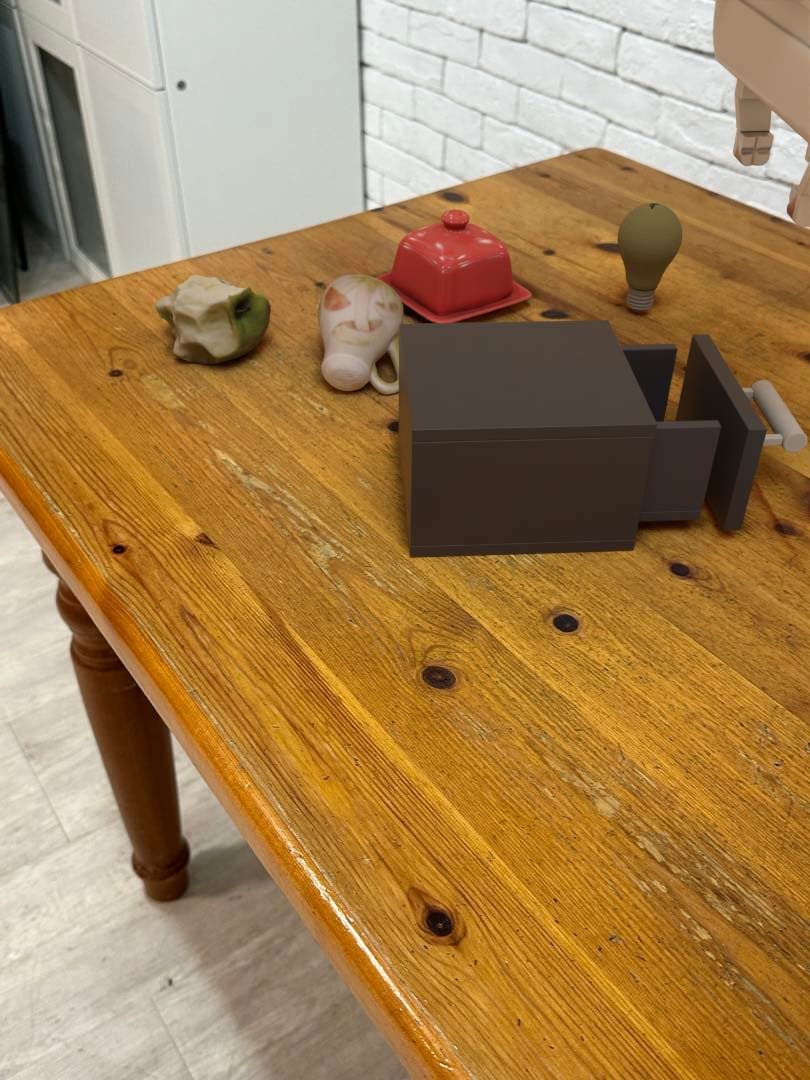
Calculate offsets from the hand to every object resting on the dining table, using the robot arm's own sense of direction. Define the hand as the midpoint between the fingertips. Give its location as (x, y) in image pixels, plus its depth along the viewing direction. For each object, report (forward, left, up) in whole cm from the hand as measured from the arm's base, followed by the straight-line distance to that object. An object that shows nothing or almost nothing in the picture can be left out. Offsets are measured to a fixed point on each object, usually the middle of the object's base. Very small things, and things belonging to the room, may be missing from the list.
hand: (775, 190), depth 60 cm
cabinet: (+14, -2, -22) cm, 26 cm away
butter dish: (+15, -33, -22) cm, 42 cm away
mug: (+24, -20, -22) cm, 38 cm away
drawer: (+4, -2, -21) cm, 21 cm away
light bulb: (-2, -30, -22) cm, 37 cm away
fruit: (+36, -24, -22) cm, 48 cm away
